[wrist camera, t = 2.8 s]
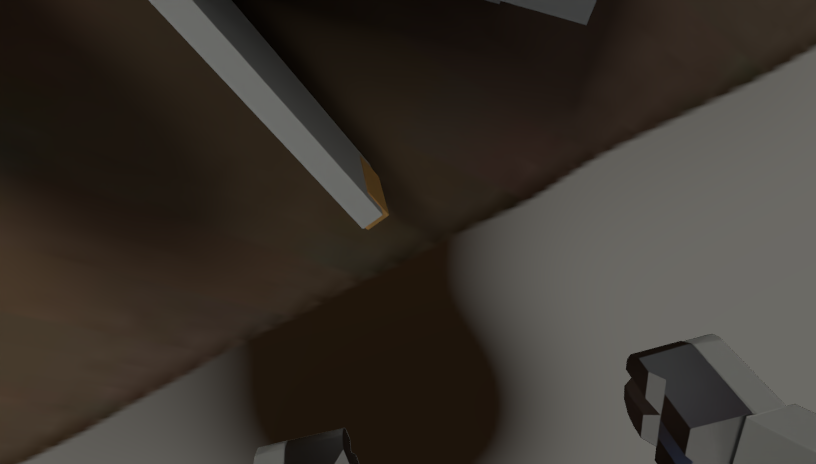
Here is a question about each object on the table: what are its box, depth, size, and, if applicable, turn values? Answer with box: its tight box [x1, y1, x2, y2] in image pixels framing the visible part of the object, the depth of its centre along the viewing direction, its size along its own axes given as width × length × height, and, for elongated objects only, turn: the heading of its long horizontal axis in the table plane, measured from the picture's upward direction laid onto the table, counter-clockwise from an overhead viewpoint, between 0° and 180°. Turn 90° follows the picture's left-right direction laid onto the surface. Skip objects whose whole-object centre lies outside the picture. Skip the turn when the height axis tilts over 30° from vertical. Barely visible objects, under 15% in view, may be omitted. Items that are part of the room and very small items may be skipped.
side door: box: [149, 0, 389, 230], centre depth 20 cm, size 1×13×5 cm, turn 34°
